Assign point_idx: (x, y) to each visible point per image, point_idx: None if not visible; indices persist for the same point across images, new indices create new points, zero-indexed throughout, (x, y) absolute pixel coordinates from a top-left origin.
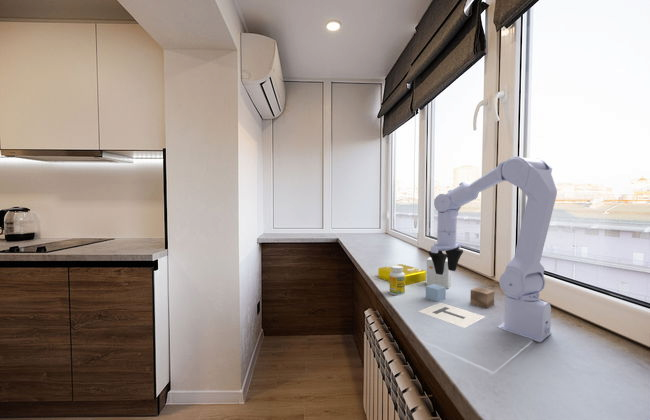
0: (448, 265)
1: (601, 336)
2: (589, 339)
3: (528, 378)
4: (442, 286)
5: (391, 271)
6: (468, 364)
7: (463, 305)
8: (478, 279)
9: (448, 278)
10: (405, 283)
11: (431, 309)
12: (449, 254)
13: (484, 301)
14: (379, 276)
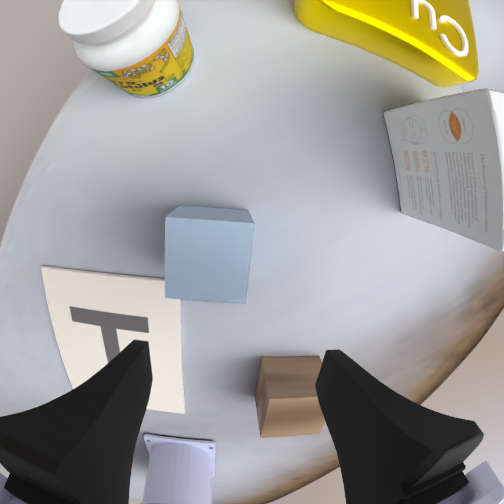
0: (340, 370)
1: (267, 492)
2: (240, 490)
3: None
4: (244, 286)
5: None
6: (11, 403)
7: (237, 344)
8: None
9: (433, 224)
10: (313, 25)
11: (85, 293)
12: (380, 453)
13: (258, 410)
14: None
